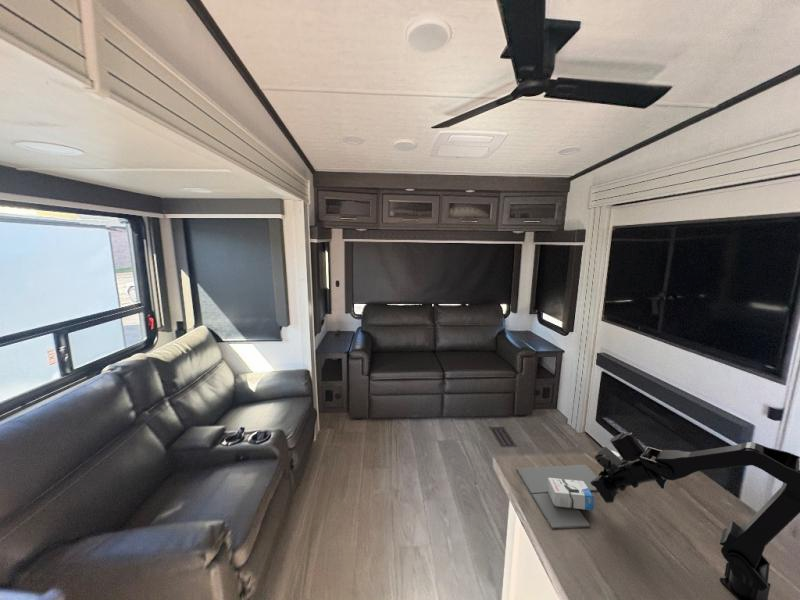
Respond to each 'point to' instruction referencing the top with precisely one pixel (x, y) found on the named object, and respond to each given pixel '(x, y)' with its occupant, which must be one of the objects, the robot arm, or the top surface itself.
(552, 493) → the ink box
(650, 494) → the top surface
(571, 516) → the rubber mat
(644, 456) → the robot arm
